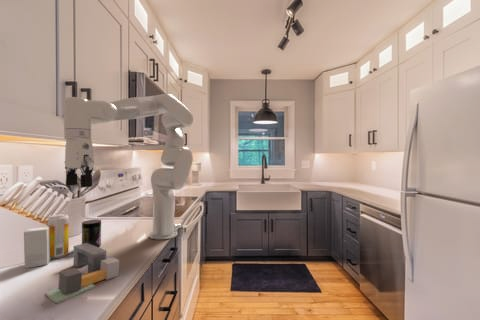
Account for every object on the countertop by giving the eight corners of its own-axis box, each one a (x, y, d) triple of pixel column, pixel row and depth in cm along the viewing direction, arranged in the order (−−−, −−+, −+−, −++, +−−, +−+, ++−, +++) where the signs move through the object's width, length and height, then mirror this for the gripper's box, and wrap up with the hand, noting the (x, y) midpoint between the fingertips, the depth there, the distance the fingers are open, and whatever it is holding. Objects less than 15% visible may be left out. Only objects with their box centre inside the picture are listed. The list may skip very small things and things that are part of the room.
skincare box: (50, 260, 83) (50, 225, 83) (47, 265, 79) (47, 229, 79) (27, 263, 80) (27, 228, 80) (23, 269, 76) (23, 231, 76)
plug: (110, 272, 75) (112, 257, 75) (118, 276, 72) (119, 260, 73) (58, 289, 63) (59, 271, 63) (65, 294, 60) (67, 275, 61)
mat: (82, 280, 70) (82, 278, 70) (94, 287, 66) (95, 285, 66) (45, 294, 62) (45, 292, 62) (56, 303, 58) (56, 301, 58)
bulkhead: (86, 261, 83) (86, 242, 83) (106, 270, 76) (106, 250, 76) (73, 265, 79) (73, 246, 79) (92, 275, 72) (93, 254, 72)
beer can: (65, 251, 91) (65, 212, 91) (70, 255, 88) (70, 214, 88) (45, 256, 87) (46, 215, 87) (50, 260, 83) (50, 217, 83)
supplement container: (95, 250, 93) (96, 223, 93) (77, 250, 92) (77, 223, 92) (104, 244, 100) (104, 219, 100) (87, 244, 99) (87, 219, 99)
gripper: (103, 134, 78) (104, 186, 79) (77, 137, 87) (78, 183, 88) (78, 132, 72) (79, 189, 72) (53, 135, 81) (54, 185, 81)
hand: (78, 185), depth 80 cm, fingers open, 9 cm apart
